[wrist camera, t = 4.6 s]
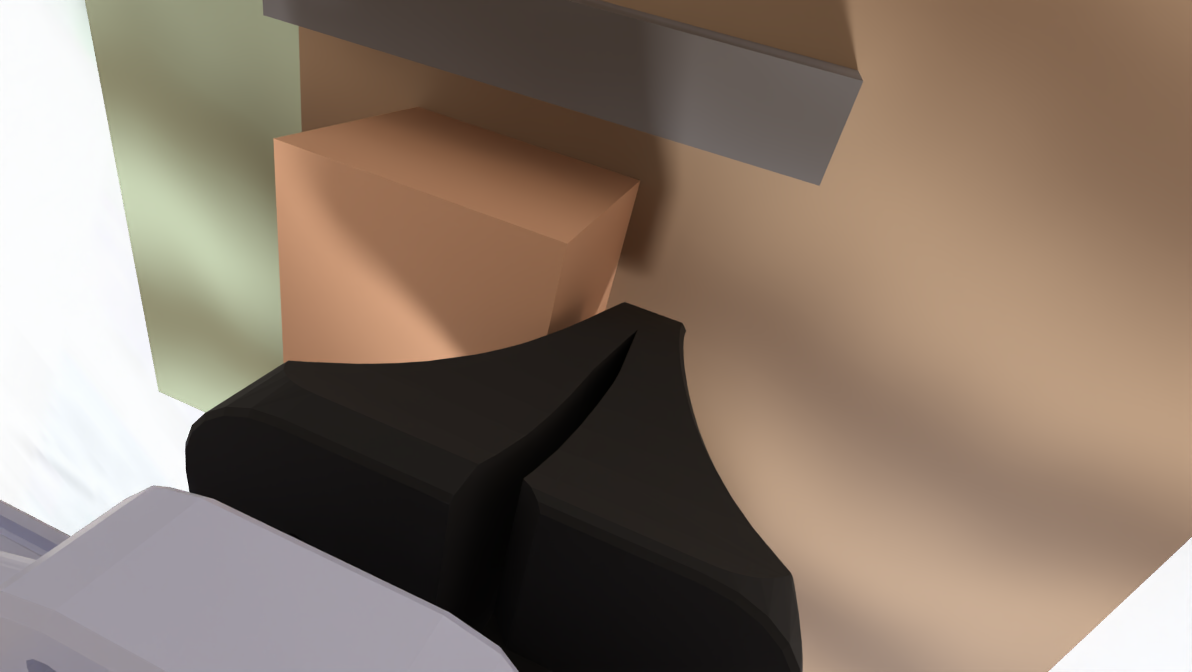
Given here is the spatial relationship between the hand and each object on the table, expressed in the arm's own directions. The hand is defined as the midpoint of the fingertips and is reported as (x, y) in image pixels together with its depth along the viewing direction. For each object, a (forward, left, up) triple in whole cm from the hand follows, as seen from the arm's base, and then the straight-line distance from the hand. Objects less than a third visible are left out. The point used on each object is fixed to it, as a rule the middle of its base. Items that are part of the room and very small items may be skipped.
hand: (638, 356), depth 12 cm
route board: (0, +2, -3) cm, 4 cm away
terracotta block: (0, +4, -2) cm, 4 cm away
